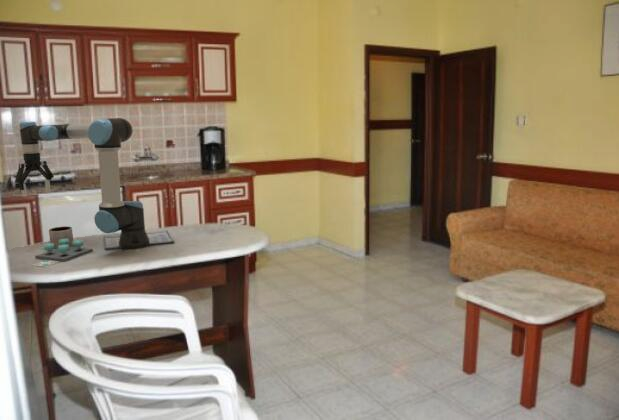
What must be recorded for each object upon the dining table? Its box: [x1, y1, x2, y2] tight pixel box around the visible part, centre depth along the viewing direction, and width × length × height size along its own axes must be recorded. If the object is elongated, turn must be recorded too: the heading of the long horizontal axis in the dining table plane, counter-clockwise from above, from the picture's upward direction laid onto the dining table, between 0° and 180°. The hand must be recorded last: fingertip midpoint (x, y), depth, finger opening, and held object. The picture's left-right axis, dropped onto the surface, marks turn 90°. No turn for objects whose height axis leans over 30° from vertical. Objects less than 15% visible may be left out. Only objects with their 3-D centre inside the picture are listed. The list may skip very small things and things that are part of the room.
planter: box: [48, 226, 74, 249], centre depth 266 cm, size 11×11×10 cm
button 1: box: [72, 239, 84, 249], centre depth 253 cm, size 5×5×4 cm
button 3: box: [59, 238, 69, 245], centre depth 256 cm, size 5×5×4 cm
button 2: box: [58, 244, 69, 254], centre depth 245 cm, size 5×5×4 cm
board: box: [34, 246, 94, 263], centre depth 251 cm, size 18×18×2 cm
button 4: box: [43, 242, 55, 253], centre depth 248 cm, size 5×5×4 cm
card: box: [31, 260, 60, 268], centre depth 238 cm, size 8×8×1 cm
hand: (36, 194), depth 266 cm, fingers open, 13 cm apart
